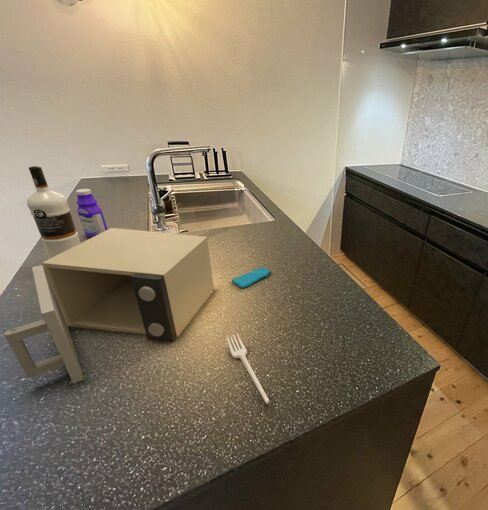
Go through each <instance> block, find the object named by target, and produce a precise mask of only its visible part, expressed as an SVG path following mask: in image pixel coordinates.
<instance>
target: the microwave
mask: <svg viewBox="0 0 488 510" xmlns="http://www.w3.org/2000/svg"><path fill="white" fill-rule="evenodd" d="M208 241H209V240H208V237H207V236H203V235H202V236H199V235H191V234H181V233H169V232H161V231H160V232H157V231H150V230H149V231H147V230H137V229H129V228H128V229H127V228H117V227H110V228H107V230H106V231H104V232H102V233H100V234H98V235H96V236H94V237H92V238H90V237H89V239H87V240H84V241H82V242H81V243H80V244H78V245H76V246H74V247H72V248H70V249H68V250H66V251H64V252H62V253H60V254H58V255H56V256H55V257H53V258H51V259H49V260H48V259H46V260H44V261H43V262H41V265H43V268H44V270H45V273H46V275H47V277H48V280H49V282H50V285H51V287H52V289H53V292H54V294H55V297H56V299H57V301H58V304H59V306H60V308H61V311H62V313H63V316H64V318H65V320H66V323H67V325H68V327H73V328H83V329H92V330H100V331H111V332H121V333H131V334H142V335H146V338H147V340H153V341H162V342H172V343H173V342H175V340H176V339H178V337H179V336H180V334H181V333H182V332H183V331H184V329H185V328H186V327H187V326H188V324H189V323H190V322H191V320H192V319H193V318H194V316H196V314H197V313H198V312H199V310H200V309H201V308H202V306H203V305H204V304H205V303H206V301H207V300H208V299H209V297H210V296H211V295H212V293H213V292H214V291H215V287H214V279H213V272H212V271H213V270H212V265H211V264H212V263H211V258H210V257H211V256H210V249H209V242H208Z"/></svg>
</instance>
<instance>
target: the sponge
mask: <svg viewBox="0 0 488 510" xmlns="http://www.w3.org/2000/svg"><path fill="white" fill-rule="evenodd" d="M271 273H272V271H271V270H270V269H267V268H265V267H263V266H262V267H260V268H258V269H254V270H252V271H249V272H247V273H244V274H241V275H238V276H236V277H234V278H232V279H231V282H232V283H233V284H234V285H236V286H237V287H239V288H240V289H247V288H249V287H251V286H252V285H253V284H256V283H257V282H259V281H261V280H263V279H265V278H267V277H268V276H270V275H271Z"/></svg>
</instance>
